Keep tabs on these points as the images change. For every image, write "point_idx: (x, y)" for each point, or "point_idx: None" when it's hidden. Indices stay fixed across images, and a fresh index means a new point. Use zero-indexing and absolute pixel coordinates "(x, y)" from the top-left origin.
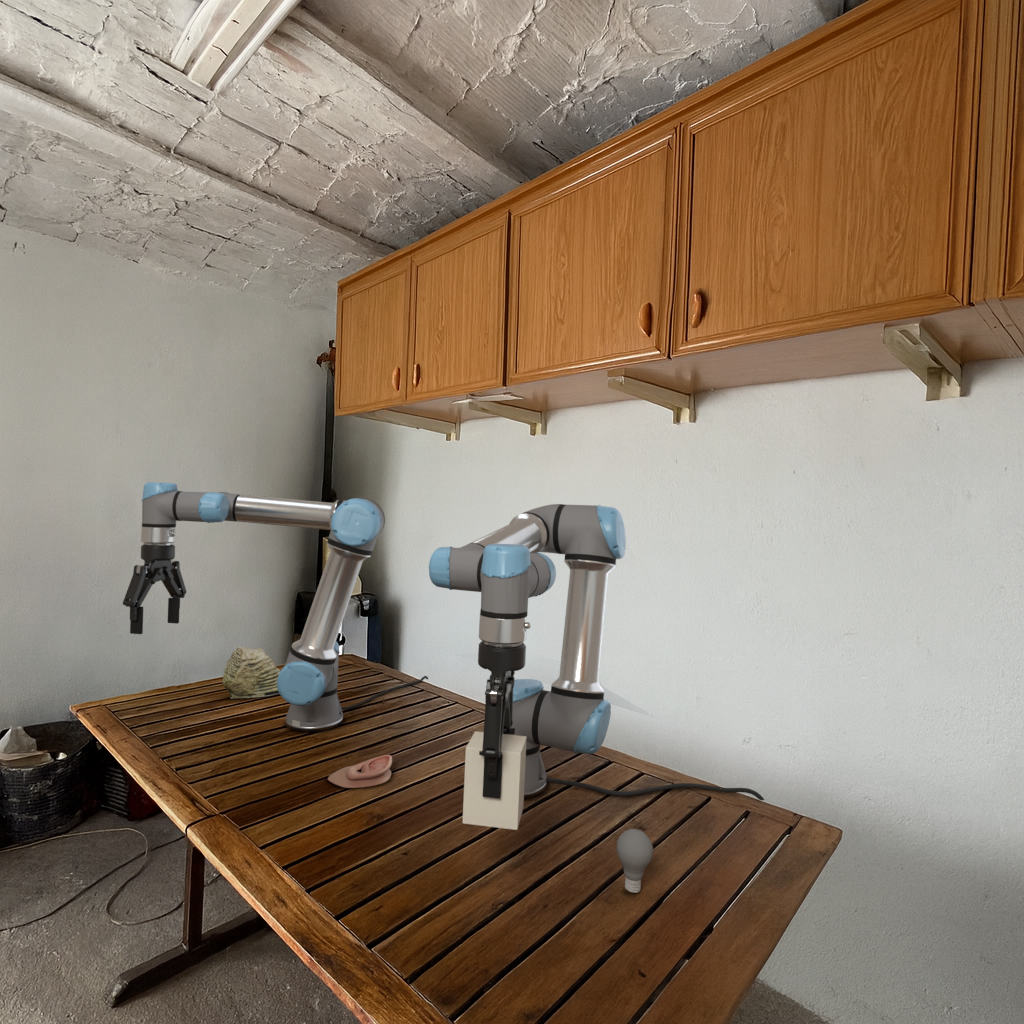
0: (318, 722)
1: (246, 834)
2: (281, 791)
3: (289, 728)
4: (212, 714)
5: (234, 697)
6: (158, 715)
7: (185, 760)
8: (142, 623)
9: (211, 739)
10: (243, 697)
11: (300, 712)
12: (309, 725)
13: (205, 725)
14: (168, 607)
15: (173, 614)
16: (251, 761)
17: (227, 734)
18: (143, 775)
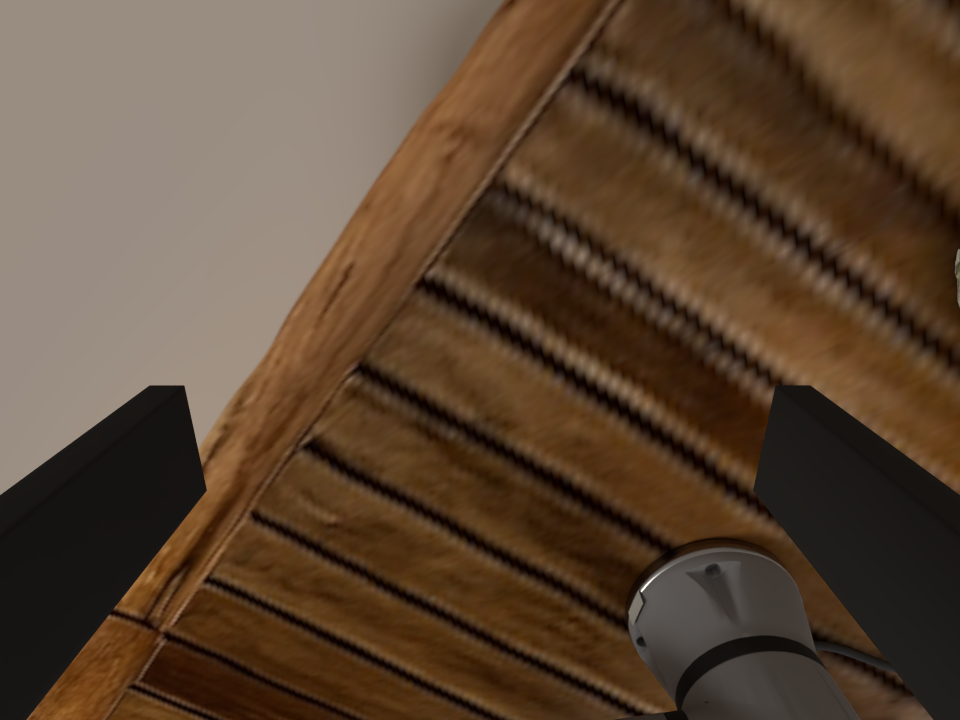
0: (642, 659)
1: (121, 700)
2: (290, 686)
3: (644, 570)
4: (760, 286)
5: (956, 270)
6: (732, 80)
7: (366, 431)
8: (142, 564)
9: (527, 413)
10: (958, 302)
11: (653, 639)
12: (631, 636)
13: (643, 327)
14: (907, 505)
15: (821, 512)
16: (410, 576)
17: (575, 434)
18: (246, 389)
